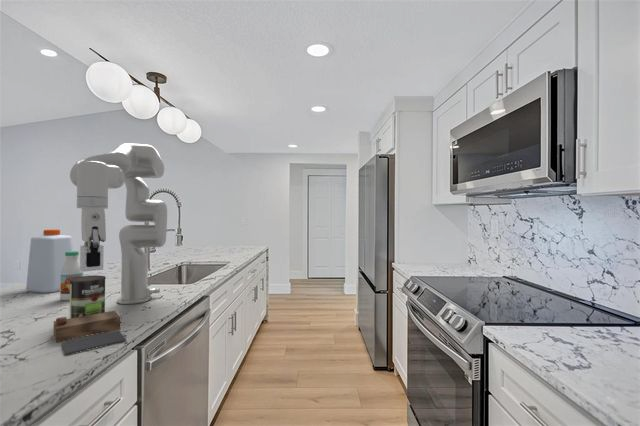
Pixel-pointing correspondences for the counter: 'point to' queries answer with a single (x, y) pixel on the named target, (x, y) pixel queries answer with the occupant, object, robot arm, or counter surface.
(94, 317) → the brown knobbed block
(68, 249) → the plastic bottle
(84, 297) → the coffee can
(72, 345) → the rubber mat
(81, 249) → the lever cap
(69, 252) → the milk bottle
